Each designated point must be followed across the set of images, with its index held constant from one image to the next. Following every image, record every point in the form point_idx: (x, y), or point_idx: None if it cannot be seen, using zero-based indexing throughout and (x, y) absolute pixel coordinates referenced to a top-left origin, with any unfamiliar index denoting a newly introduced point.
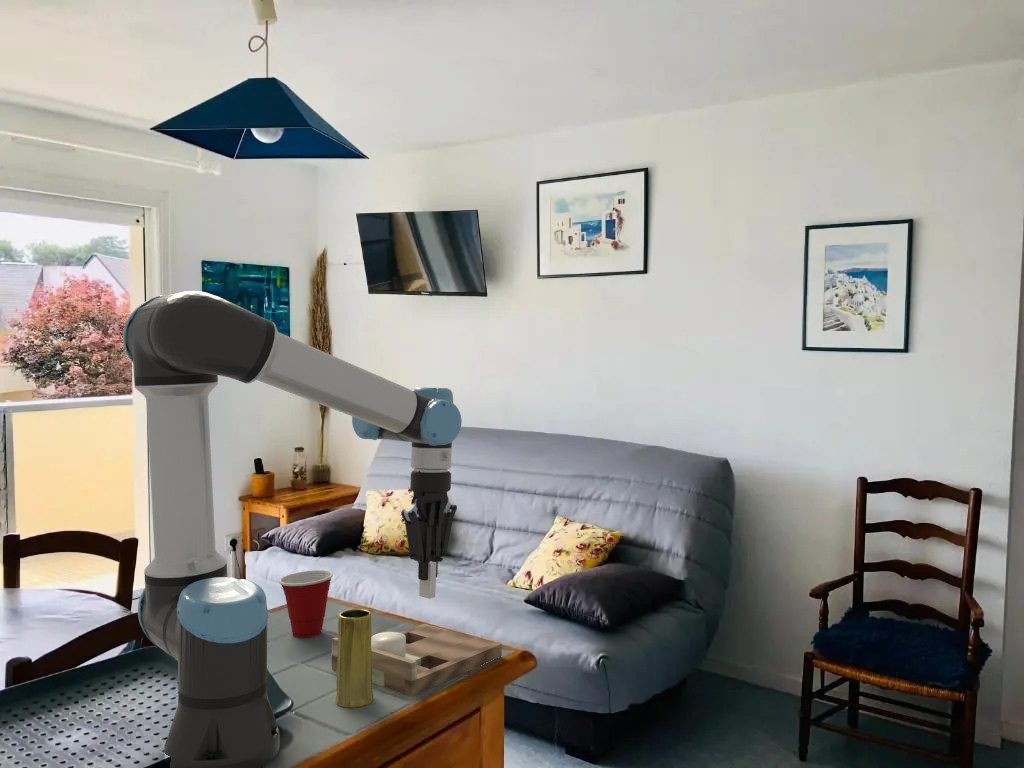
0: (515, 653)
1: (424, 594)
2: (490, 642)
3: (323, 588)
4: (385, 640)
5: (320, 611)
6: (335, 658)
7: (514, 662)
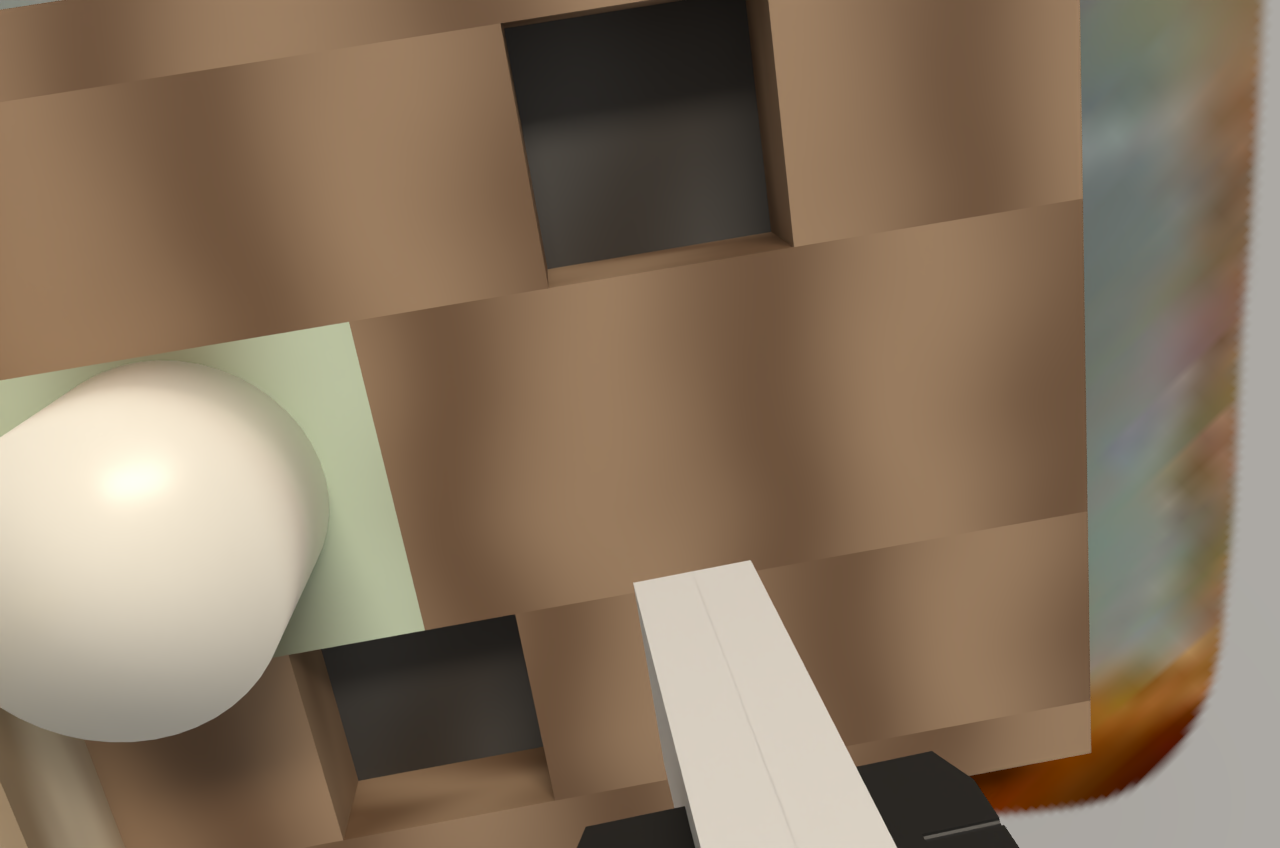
0: (1163, 696)
1: (654, 698)
2: (1060, 683)
3: None
4: (30, 647)
5: None
6: None
7: (1024, 808)
